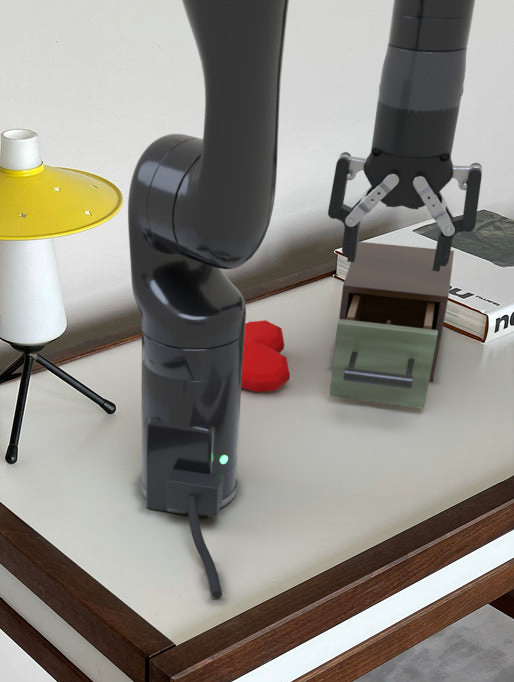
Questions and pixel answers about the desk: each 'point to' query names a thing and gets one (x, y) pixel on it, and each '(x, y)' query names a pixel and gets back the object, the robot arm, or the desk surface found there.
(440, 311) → the cabinet
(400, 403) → the drawer
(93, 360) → the desk surface
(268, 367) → the heart
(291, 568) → the desk surface
